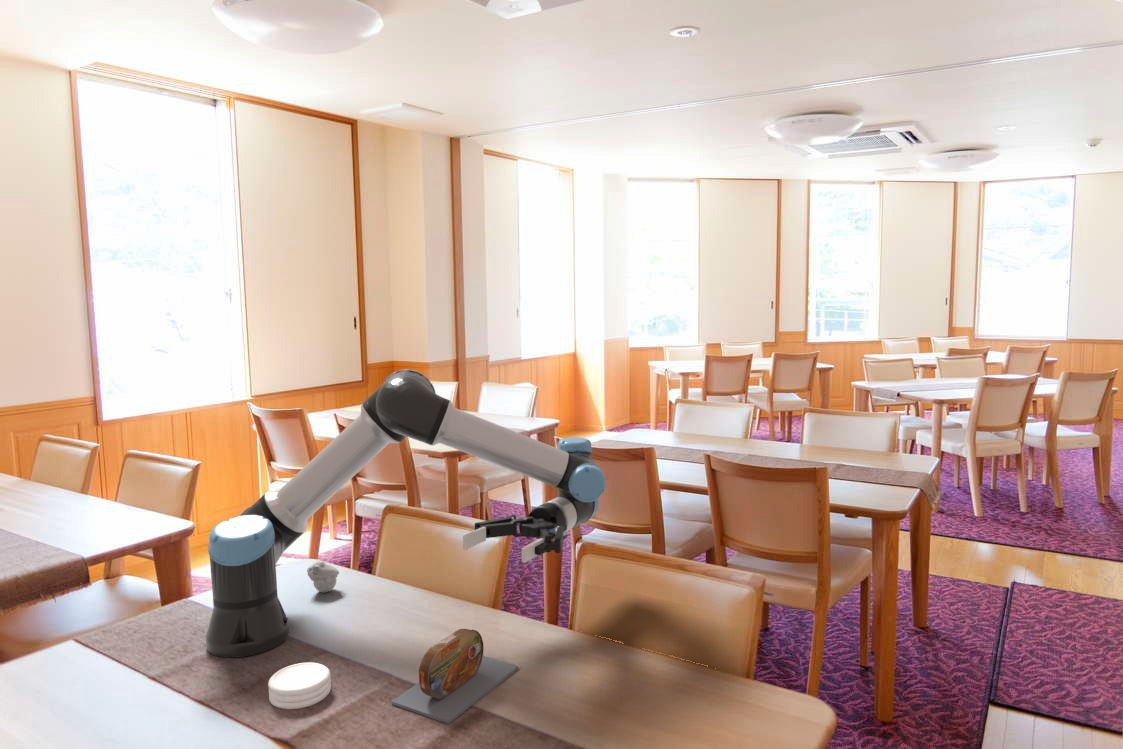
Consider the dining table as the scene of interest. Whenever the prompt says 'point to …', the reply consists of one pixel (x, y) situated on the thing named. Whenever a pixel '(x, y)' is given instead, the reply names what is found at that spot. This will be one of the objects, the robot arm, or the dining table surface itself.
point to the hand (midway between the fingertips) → (493, 549)
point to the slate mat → (457, 692)
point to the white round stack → (299, 685)
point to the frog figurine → (323, 576)
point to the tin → (451, 663)
